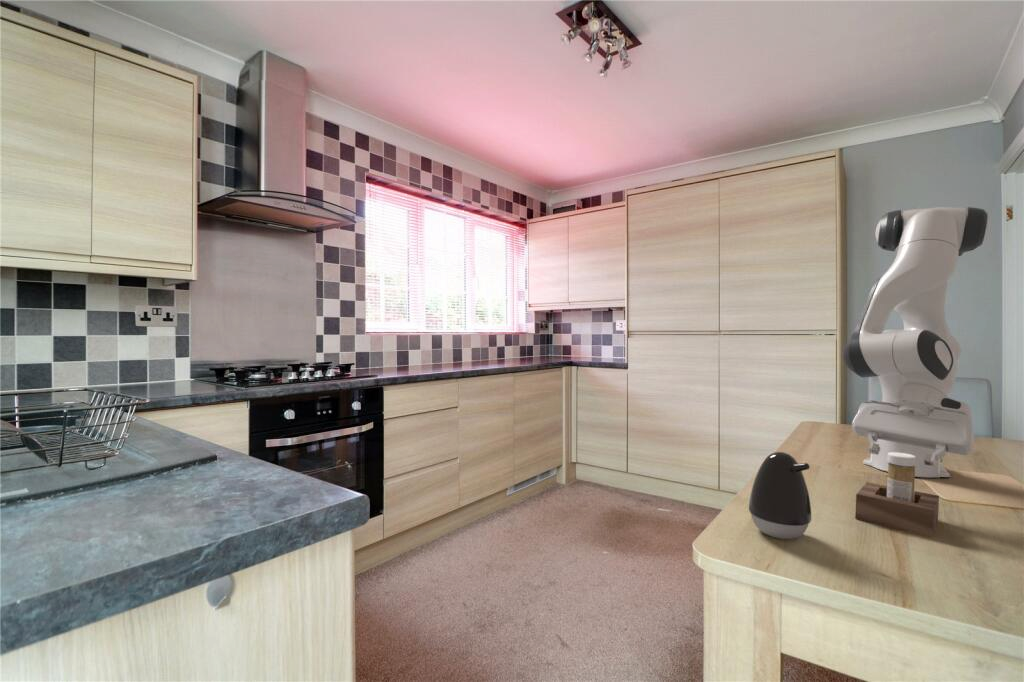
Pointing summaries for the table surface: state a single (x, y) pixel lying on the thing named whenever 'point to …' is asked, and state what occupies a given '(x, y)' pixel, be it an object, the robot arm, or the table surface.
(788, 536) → the pump dispenser
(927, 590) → the table surface
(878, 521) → the spice caddy
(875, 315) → the robot arm
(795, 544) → the table surface
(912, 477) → the sprinkles bottle
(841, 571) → the table surface
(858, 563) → the table surface
